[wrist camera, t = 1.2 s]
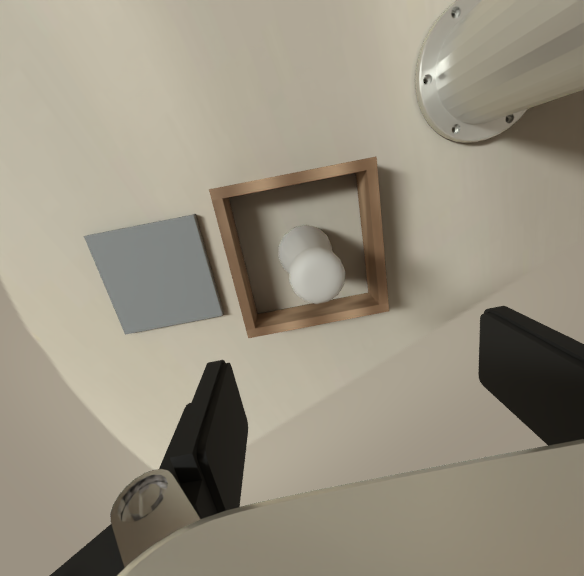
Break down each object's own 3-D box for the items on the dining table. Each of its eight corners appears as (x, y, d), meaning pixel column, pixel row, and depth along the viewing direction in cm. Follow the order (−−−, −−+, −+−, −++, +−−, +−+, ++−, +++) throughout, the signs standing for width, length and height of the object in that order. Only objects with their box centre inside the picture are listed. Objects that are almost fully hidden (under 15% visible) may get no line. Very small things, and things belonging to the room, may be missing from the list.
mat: (195, 214, 31) (193, 214, 31) (223, 312, 35) (222, 315, 34) (88, 235, 31) (83, 236, 31) (128, 331, 35) (125, 334, 35)
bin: (363, 161, 31) (376, 156, 27) (377, 298, 36) (389, 311, 32) (217, 190, 31) (208, 189, 27) (251, 322, 36) (248, 338, 32)
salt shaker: (334, 260, 34) (368, 299, 22) (290, 280, 34) (298, 328, 22) (316, 214, 32) (342, 227, 20) (270, 235, 32) (266, 260, 20)
